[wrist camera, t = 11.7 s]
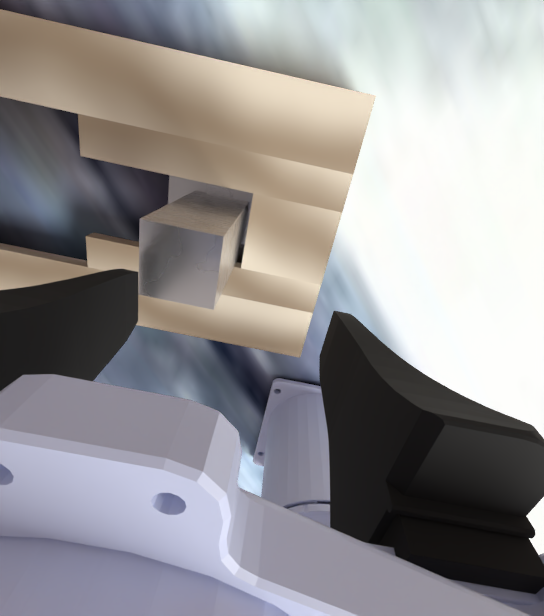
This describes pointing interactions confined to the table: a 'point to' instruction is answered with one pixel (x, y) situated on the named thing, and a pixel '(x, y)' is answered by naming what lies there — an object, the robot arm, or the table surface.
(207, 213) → the keyhole key
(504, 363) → the table surface
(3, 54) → the keyhole plate
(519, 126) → the table surface
